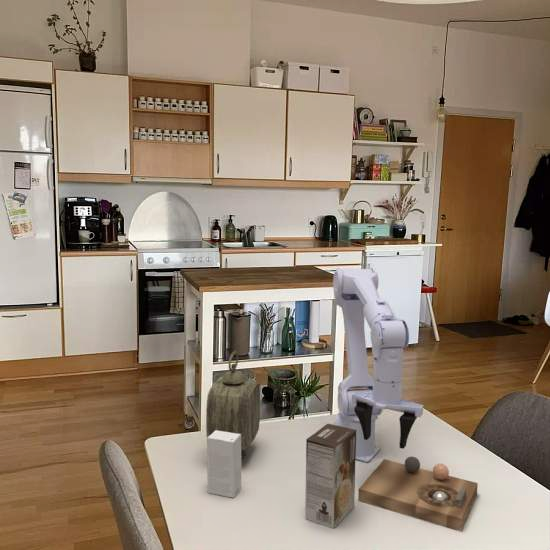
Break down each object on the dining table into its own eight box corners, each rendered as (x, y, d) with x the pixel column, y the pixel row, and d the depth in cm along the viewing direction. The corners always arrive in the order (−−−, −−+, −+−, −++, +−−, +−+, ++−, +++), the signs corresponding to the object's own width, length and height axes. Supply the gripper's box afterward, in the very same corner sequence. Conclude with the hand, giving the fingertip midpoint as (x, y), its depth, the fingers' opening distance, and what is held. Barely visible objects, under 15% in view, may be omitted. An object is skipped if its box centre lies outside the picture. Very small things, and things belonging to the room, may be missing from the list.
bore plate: (358, 500, 113) (359, 481, 112) (383, 469, 125) (384, 452, 125) (460, 531, 103) (462, 511, 102) (476, 494, 115) (478, 476, 115)
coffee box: (325, 497, 114) (327, 421, 111) (355, 506, 110) (357, 429, 108) (303, 519, 106) (305, 438, 104) (334, 530, 103) (336, 446, 100)
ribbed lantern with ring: (225, 441, 139) (225, 342, 135) (260, 444, 137) (261, 345, 134) (206, 468, 125) (205, 359, 121) (245, 473, 123) (246, 362, 120)
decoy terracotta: (430, 480, 116) (431, 465, 116) (434, 473, 119) (435, 459, 118) (446, 484, 114) (447, 469, 114) (450, 477, 117) (450, 463, 117)
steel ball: (431, 511, 110) (428, 495, 110) (435, 502, 113) (432, 487, 112) (447, 512, 108) (444, 497, 108) (451, 503, 111) (448, 488, 111)
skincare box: (242, 488, 117) (242, 433, 115) (233, 498, 113) (234, 442, 111) (215, 483, 119) (215, 429, 117) (206, 493, 115) (206, 437, 113)
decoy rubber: (402, 472, 119) (402, 458, 119) (406, 466, 122) (407, 452, 121) (417, 476, 117) (417, 462, 117) (421, 470, 120) (422, 456, 120)
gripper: (346, 377, 114) (344, 441, 116) (417, 391, 106) (413, 458, 108) (359, 368, 120) (357, 429, 122) (427, 380, 113) (423, 444, 114)
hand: (384, 442), depth 116 cm, fingers open, 7 cm apart
